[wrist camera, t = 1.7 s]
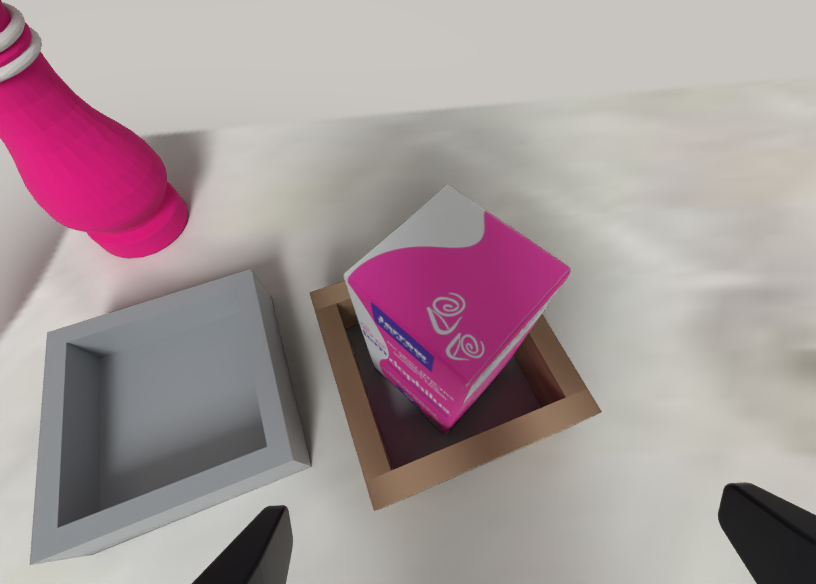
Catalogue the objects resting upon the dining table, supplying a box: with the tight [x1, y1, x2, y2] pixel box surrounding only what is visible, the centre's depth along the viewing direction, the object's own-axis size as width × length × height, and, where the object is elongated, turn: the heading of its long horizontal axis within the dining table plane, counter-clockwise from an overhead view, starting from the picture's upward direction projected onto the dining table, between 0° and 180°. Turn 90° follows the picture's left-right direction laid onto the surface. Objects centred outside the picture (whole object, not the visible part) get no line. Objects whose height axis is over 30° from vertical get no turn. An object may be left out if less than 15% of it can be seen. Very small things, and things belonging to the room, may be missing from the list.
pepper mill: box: [0, 0, 188, 258], centre depth 20 cm, size 7×7×20 cm
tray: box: [30, 269, 311, 565], centre depth 21 cm, size 11×11×4 cm
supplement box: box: [343, 185, 570, 434], centre depth 18 cm, size 6×6×12 cm
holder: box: [310, 281, 602, 511], centre depth 22 cm, size 11×11×4 cm
